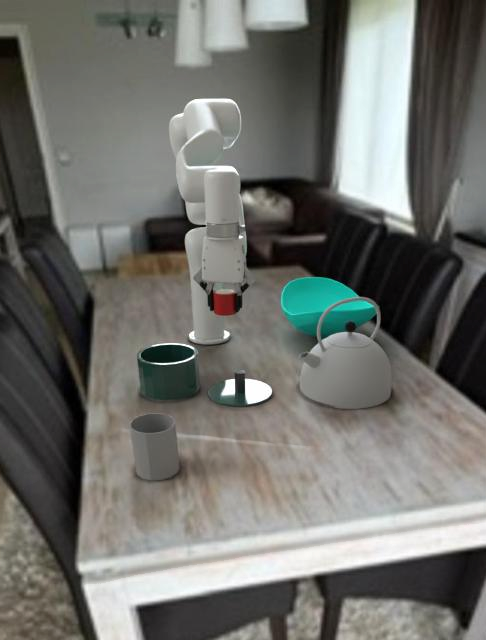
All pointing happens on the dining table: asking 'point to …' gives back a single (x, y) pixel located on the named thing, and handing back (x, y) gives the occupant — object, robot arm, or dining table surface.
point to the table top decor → (322, 306)
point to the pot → (168, 371)
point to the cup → (155, 446)
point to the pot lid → (240, 391)
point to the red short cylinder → (224, 302)
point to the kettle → (347, 367)
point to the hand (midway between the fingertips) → (225, 309)
